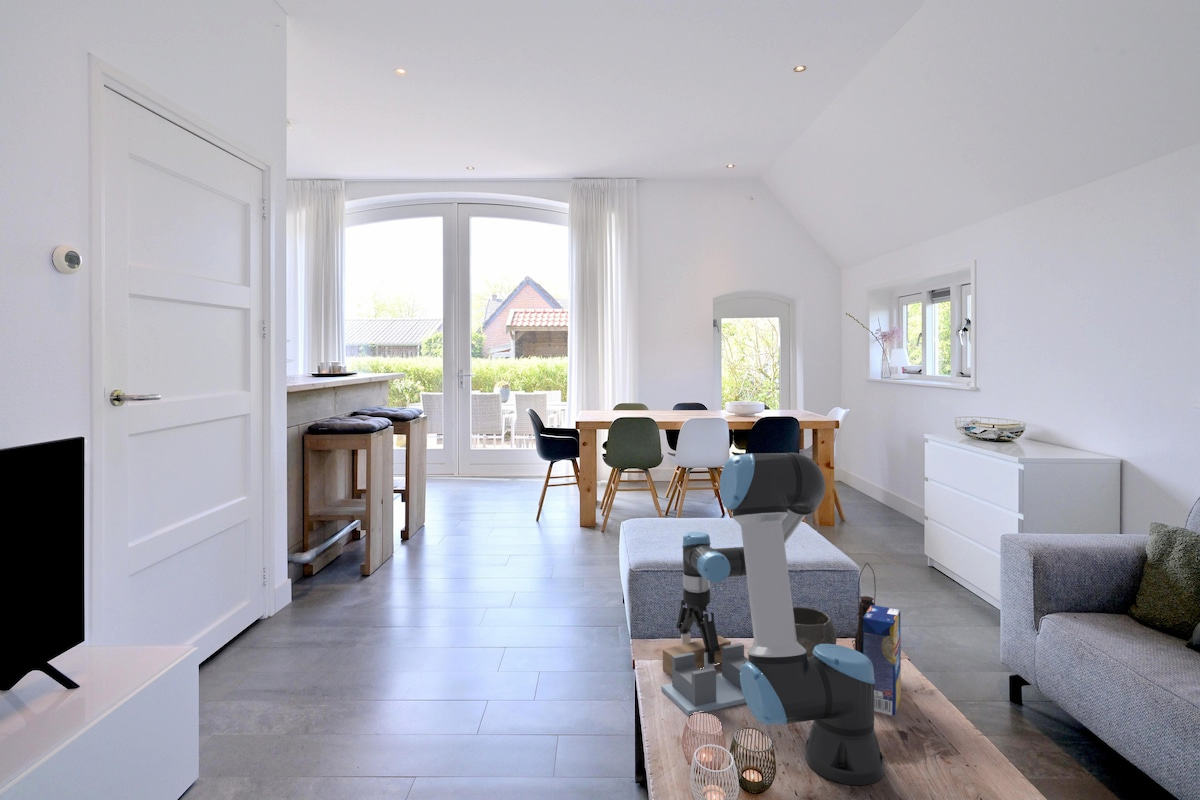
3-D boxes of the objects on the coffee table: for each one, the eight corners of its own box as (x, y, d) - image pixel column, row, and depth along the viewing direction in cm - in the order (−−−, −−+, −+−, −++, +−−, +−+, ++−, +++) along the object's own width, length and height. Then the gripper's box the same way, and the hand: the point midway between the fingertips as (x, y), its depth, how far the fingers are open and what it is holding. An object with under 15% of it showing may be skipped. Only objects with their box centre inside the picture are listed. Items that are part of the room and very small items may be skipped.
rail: (719, 655, 184) (719, 635, 184) (730, 662, 180) (730, 641, 179) (662, 671, 174) (662, 649, 174) (673, 678, 170) (673, 656, 170)
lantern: (886, 680, 167) (886, 567, 166) (854, 678, 168) (853, 566, 168) (879, 667, 174) (878, 559, 174) (848, 665, 176) (848, 558, 176)
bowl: (846, 672, 172) (846, 626, 171) (779, 673, 172) (779, 626, 172) (823, 646, 189) (823, 604, 189) (763, 646, 190) (763, 604, 189)
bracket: (778, 695, 159) (778, 659, 159) (688, 715, 150) (688, 678, 150) (746, 672, 172) (745, 639, 172) (661, 690, 163) (660, 655, 162)
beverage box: (900, 696, 158) (900, 609, 157) (894, 716, 148) (894, 623, 148) (871, 690, 161) (871, 604, 161) (863, 708, 152) (863, 618, 152)
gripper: (732, 599, 167) (733, 680, 167) (686, 575, 189) (687, 646, 190) (708, 603, 164) (708, 686, 164) (664, 578, 186) (665, 650, 187)
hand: (697, 665), depth 177 cm, fingers open, 12 cm apart
